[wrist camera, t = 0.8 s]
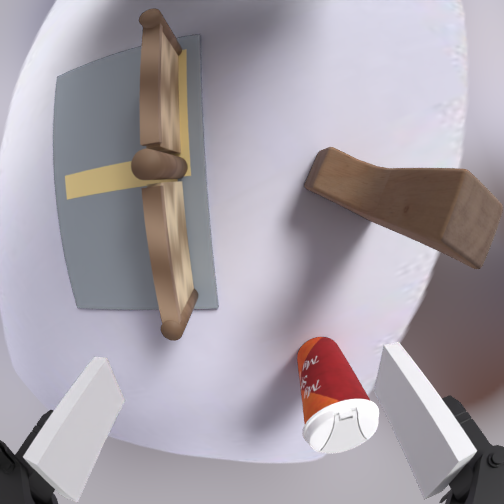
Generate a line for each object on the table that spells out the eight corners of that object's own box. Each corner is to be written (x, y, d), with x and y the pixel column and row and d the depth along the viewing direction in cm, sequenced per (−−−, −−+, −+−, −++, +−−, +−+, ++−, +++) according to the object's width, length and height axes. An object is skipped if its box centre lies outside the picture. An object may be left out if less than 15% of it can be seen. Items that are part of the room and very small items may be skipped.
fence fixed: (163, 47, 24) (136, 10, 15) (184, 43, 24) (161, 3, 15) (166, 180, 28) (132, 182, 19) (188, 177, 28) (161, 178, 19)
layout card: (59, 77, 24) (56, 76, 24) (200, 35, 24) (199, 33, 23) (79, 306, 32) (77, 308, 32) (218, 306, 32) (218, 308, 31)
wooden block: (302, 187, 28) (373, 202, 11) (318, 149, 27) (406, 116, 10) (371, 222, 29) (481, 273, 12) (386, 186, 28) (506, 206, 11)
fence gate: (167, 183, 27) (137, 185, 20) (185, 180, 27) (161, 182, 20) (182, 303, 31) (163, 340, 23) (199, 302, 31) (184, 340, 23)
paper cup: (285, 335, 33) (301, 420, 19) (345, 323, 33) (388, 399, 19) (292, 381, 35) (306, 462, 21) (345, 370, 35) (377, 445, 21)
